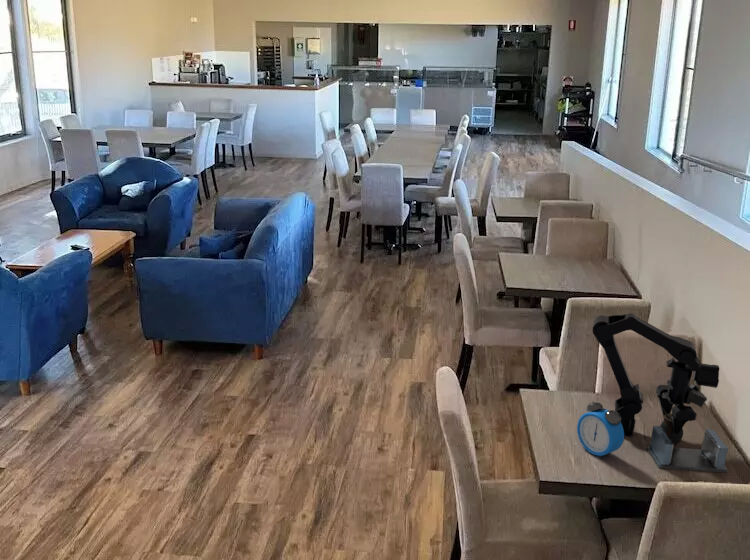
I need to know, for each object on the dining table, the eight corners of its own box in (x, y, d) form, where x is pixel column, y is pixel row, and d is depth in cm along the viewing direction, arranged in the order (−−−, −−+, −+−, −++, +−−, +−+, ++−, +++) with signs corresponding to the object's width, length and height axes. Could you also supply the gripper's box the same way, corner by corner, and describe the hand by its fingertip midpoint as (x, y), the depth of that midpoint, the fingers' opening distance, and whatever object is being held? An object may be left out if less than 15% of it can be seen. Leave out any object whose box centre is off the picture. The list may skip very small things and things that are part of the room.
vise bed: (658, 468, 219) (663, 444, 217) (646, 448, 230) (650, 425, 227) (727, 472, 219) (732, 448, 217) (712, 453, 230) (717, 429, 227)
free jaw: (661, 464, 219) (665, 444, 217) (649, 445, 229) (653, 425, 227) (670, 465, 219) (674, 444, 217) (657, 445, 229) (661, 426, 227)
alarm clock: (573, 444, 230) (580, 400, 225) (587, 439, 233) (593, 395, 229) (608, 464, 220) (615, 418, 215) (621, 459, 223) (629, 413, 219)
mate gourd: (679, 448, 231) (684, 419, 228) (654, 441, 235) (658, 412, 232) (683, 439, 237) (689, 410, 234) (659, 432, 241) (663, 404, 238)
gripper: (718, 396, 221) (708, 443, 226) (694, 370, 239) (685, 414, 243) (680, 394, 221) (671, 441, 226) (659, 368, 239) (651, 412, 243)
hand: (670, 426), depth 235 cm, fingers open, 9 cm apart
